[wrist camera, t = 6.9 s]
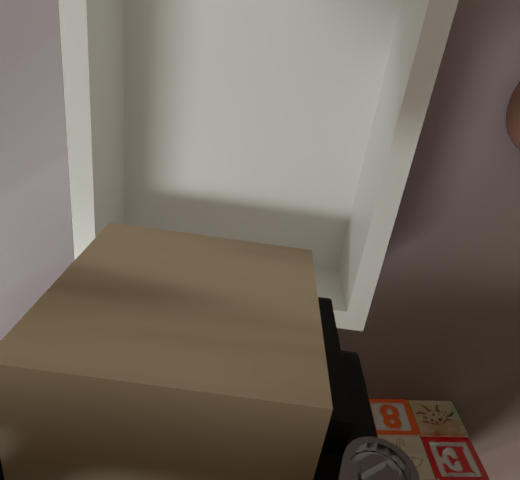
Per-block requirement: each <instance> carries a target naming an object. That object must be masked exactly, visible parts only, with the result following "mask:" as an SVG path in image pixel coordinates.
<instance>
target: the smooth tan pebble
mask: <svg viewBox="0 0 520 480" xmlns="http://www.w3.org/2000/svg"><path fill="white" fill-rule="evenodd" d="M506 127H507V131H508V134H509V137H510V139H511V140H512V142H513V144H514V145H515V146H516V147H517V148H518V149H519V150H520V82H519V84H518V85H517V87H516V88H515V90H514V92H513V94H512V96H511V98H510V100H509V104H508V107H507V113H506Z"/></svg>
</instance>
